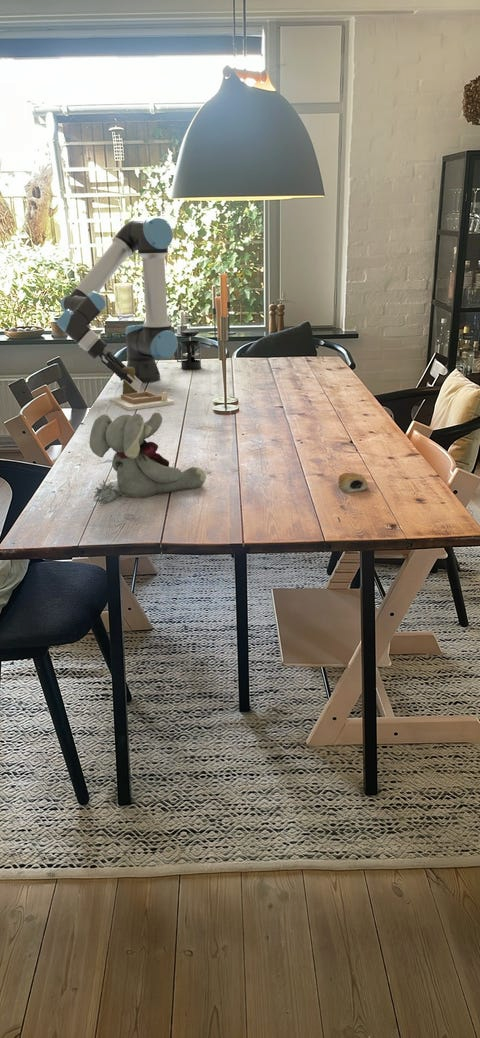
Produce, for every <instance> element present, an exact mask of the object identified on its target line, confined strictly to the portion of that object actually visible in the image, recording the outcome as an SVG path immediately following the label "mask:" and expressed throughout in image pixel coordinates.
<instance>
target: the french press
mask: <svg viewBox="0 0 480 1038" xmlns="http://www.w3.org/2000/svg"><path fill="white" fill-rule="evenodd" d="M184 319H187V320H188V327H189V329H183V330H180V331H179V333H180V336H181V337H182V338H189V340H183V341H179V342H178V344H180V360H179V345H177V349H176V362H177V363H180V364H181V367H180V369H181V370H183V371H184V370H185V371H198V370H201V369H202V357H201V356H202V355H201V354H202V353H201V341H199V340H191V339H192V338H194V337H196V336H197V335H199V333H200V330H198V329H191V319H195V317H193V316H186V317H184ZM183 347H186V353H183ZM195 347H199V350H198V351H199V352H198V353H197V352H195ZM196 357H199V359H196ZM183 358H187V359H183Z"/></svg>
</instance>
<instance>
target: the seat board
mask: <svg viewBox="0 0 480 1038" xmlns="http://www.w3.org/2000/svg"><path fill="white" fill-rule="evenodd" d="M137 392H138V391H137ZM108 399H109V403H111V404H114V405H116V406H118V407H121V408H123V409H125V410H127V411H133V410H141V409H148V408H154V407H155V408H156V407H163V406H169V405H175V400H173V399H170V398H168V391H162V393H161V395H160V394H157V393H154V392H152V391H149V390H147V391H146V390H145V391H140V392H138V393H130V394H123V393H122V394H120V396H119V397H112V398H108Z"/></svg>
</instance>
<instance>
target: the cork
mask: <svg viewBox="0 0 480 1038" xmlns="http://www.w3.org/2000/svg"><path fill="white" fill-rule="evenodd" d="M123 370H124V371H125V372H126V373H127V375H128V374H129V375H130V376H131V377H132V378H133V379H134V380H135V377H134V375H135V369H134V368H133V367H127V366H126V367H124V368H123ZM122 381H123V382H122V394H130V393H138V390H137V391H136V390H134V389H133V388H132V387H131V386H130V385H129V384H128V383H127V382H126V381H125V380H122Z"/></svg>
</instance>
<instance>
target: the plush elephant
mask: <svg viewBox="0 0 480 1038" xmlns="http://www.w3.org/2000/svg"><path fill="white" fill-rule="evenodd" d="M162 422H163V417H162V415H161V413H160V412H153V413H152V415H151V416H150V418H149V419H148V420H147V421H145V419H144V417H143V416H142V415H141V414H139V413H134V414H133V415H130V414H122V415H119V416H117V417H116V418H115V419H114V420H112V418H111V417H110V416H109V415H108V414H105V413H104V414H101V415H99V416H98V417H97V418H96V419H95V420H94V422H93V424H92V427H91V430H90V433H89V448H90V450H91V452H92V453H93V454H95V456H97V457H98V458H103V457H104V456H105V454H106V453H107V452H108V451H109V450H110V449H112V451H114V452H115V453H114V455H113V458H112V460H111V461H112V462H111V466H112V469H113V470H114V471H115V472H116V481H117V488H118V490H117V489H115V488H114V487H115V484H114V483H113V482H109V484H106V482H105V481H104V479H103V480H102V484H101V483H99V485H100V486H99V487H98V486H96V488H94V490H96V491H94V493H95V494H94V496H93V498H94V499H96V498H97V499H96V502H98V503H99V504H100V505H102V504H107V503H109V502H112V501H114V500H115V499H116V498H119V497H122V498H126V497H128V498H133V499H134V498H135V499H136V498H138V499H139V498H148V497H152V496H154V495H155V496H156V495H158V494H168V493H173V492H177V491H182V490H193V489H194V490H195V489H198V488H201V487H202V486H203V485H204V483H205V482H206V480H207V476H206V472H205V471H204V470H203V468H200V467H198V466H191V467H189V468H187V469H185V470H183V471H181V469H179V467H173V466H170V461H169V460H168V459H166V458H165V457H163V456H162V455H161V454H160V453H158V452H157V451H158V449H159V445H158V444H157V443H155V442H153V441H147V440H146V439H149V438H151V437H152V436H153V435H155V433H156V432H158V430H159V428H160V427H161V425H162ZM100 502H101V503H100Z"/></svg>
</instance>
